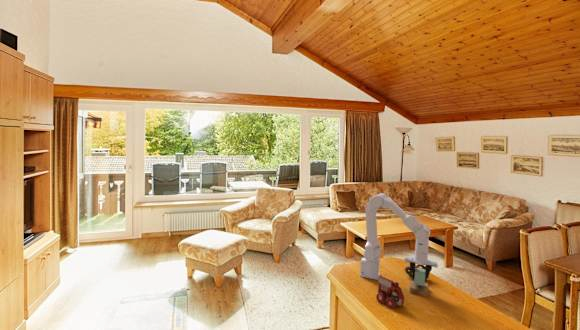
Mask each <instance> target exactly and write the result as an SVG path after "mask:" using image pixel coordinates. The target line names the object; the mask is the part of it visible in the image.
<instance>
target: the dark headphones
mask: <svg viewBox="0 0 580 330" xmlns="http://www.w3.org/2000/svg"><path fill="white" fill-rule="evenodd" d="M420 267H421V269H422V270H425V269H426V265H419V264H415V268H417V269H419V268H420ZM404 271H405V273H406V274H407V275H408V276H409V278H410V277H412V276H413V273H412V270H411V267H410V266H406V267H405V269H404ZM430 273H431V272H430ZM430 273H429V274H428V276H427V279H426V281H427V280H428V279H429V278H430Z"/></svg>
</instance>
